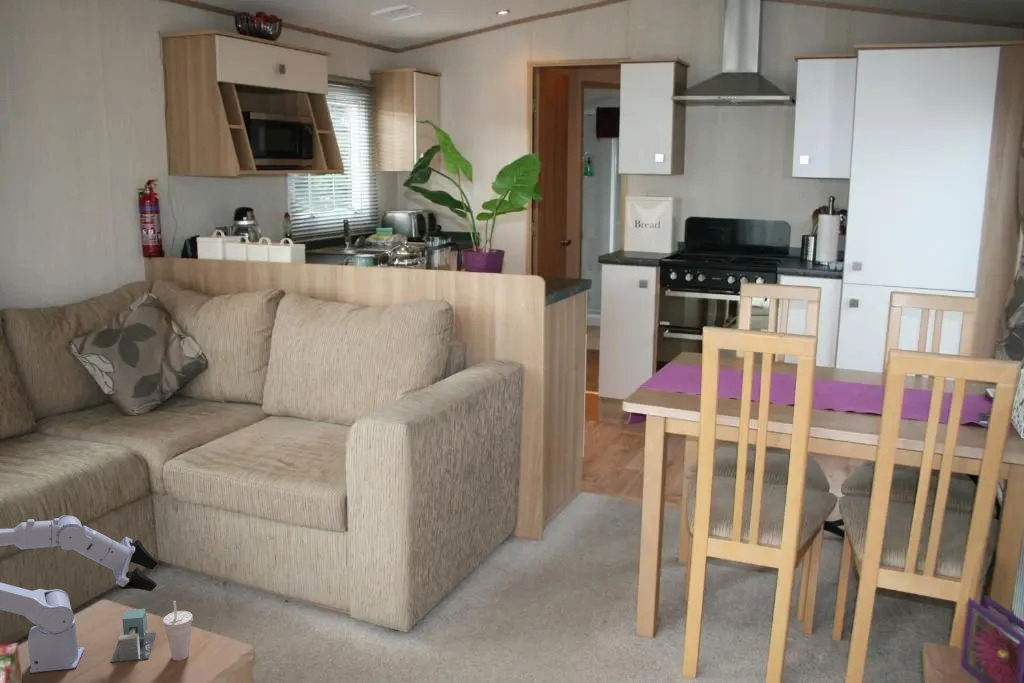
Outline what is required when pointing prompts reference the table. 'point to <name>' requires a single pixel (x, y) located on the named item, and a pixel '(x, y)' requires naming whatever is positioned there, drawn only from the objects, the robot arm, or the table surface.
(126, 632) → the teal block on rod
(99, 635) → the table surface
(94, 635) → the table surface
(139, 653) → the grey metal stand
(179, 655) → the smoothie
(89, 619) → the table surface
